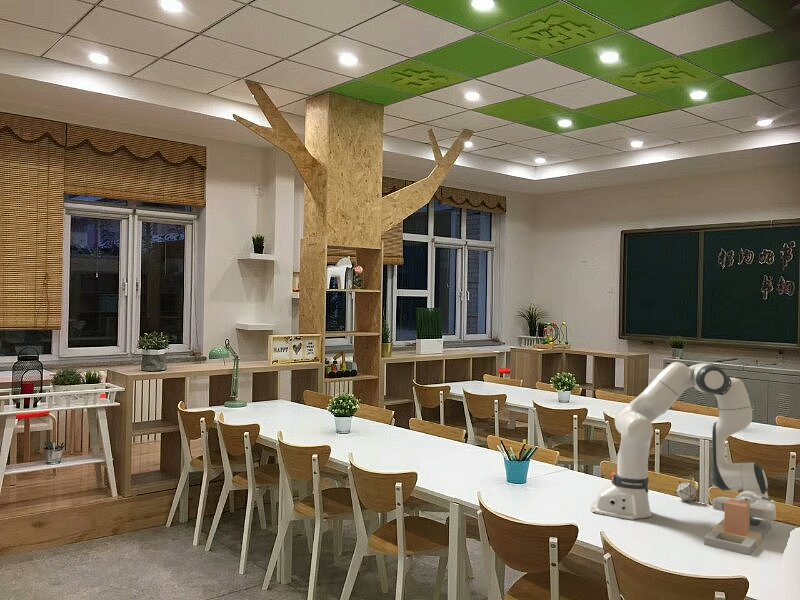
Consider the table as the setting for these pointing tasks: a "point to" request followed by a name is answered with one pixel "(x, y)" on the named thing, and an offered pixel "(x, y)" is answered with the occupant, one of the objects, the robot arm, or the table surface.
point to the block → (737, 517)
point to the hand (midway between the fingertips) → (739, 513)
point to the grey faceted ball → (686, 491)
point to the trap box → (738, 537)
